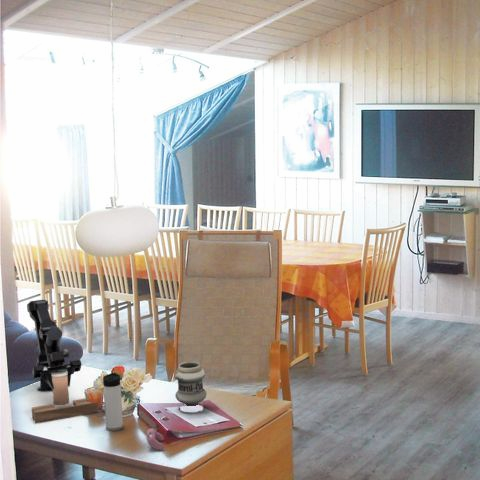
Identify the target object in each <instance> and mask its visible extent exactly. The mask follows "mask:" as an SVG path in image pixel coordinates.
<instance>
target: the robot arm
mask: <svg viewBox="0 0 480 480" xmlns="http://www.w3.org/2000/svg"><path fill="white" fill-rule="evenodd" d="M26 310H27V313H29V317H30V319H32V321H33V322H34V326H35V333H36V340H37V346H38V352H39V353H38V354H39V355H38V357H37V360H36V363H35V365H33V367H32V378H33V379H39V382H40V383H39V384H40V386H39V387H38V388H37V389H36V390H37V391H47V392H48V391H49V392H51V391H52V392H53V383H52V375H51V374H52V373H53V372H55V371H65V370H66V371H67V372H68V375H67V376H68V388H70V386H71V379H72V378H71V377H72V375H74V374H75V372H76V373H77V372H80V371H81V368H82V365H83V364H82V360H81V359H78V358H77V359H71V360H70V361H69V363H65V362H66V360H65V359H66V358H69V356H70V353H69V349H68V348H65V349H64V348H63V350H61V347H60V345H61V343H62V337H63V331H62V330H61V329H60V327H58V325H57V322H55V321H54V320H52V318H51V314H50V313H49V301H48V300H47V299H37V300H29V302H28V303H27V304H26Z"/></svg>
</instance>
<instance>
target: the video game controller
mask: <svg viewBox="0 0 480 480" xmlns="http://www.w3.org/2000/svg"><path fill="white" fill-rule="evenodd" d="M164 439H165V437H164V436H163V434H162V433H160V432H158V431H157V430H156V429H154V428H153V427H152V428H149V429H147V430H146V441H147V444H148V445H149V446H150V447H152V448H153V449H154V450H156V451H163V450H164V449H165V447H164V445H163V444H162V443H161V442H163V441H164Z"/></svg>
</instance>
